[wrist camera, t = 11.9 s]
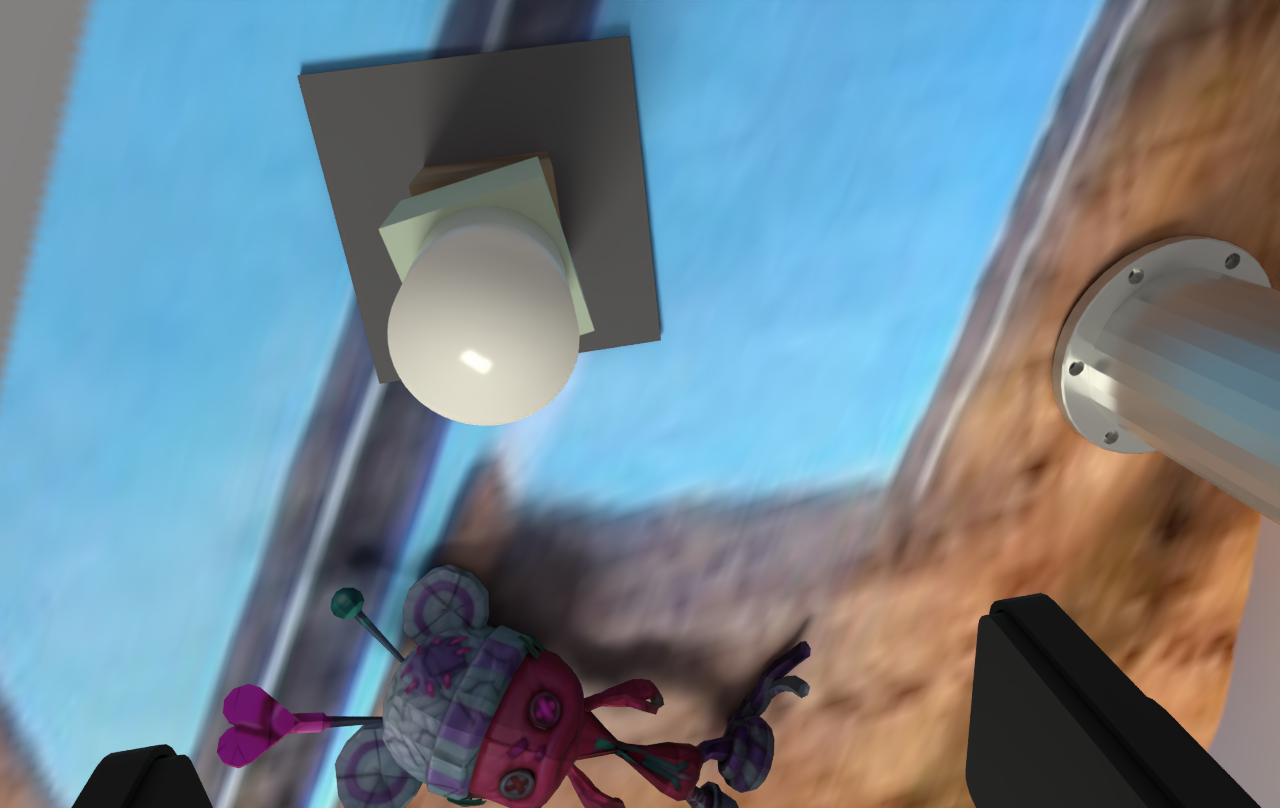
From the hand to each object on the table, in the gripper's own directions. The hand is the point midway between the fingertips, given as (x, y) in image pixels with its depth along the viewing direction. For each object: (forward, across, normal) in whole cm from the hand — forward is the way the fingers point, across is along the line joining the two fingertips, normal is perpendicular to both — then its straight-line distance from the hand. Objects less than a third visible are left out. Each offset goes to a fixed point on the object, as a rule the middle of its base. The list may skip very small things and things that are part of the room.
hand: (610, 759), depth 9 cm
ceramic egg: (+19, +2, -1) cm, 19 cm away
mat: (+31, +2, -1) cm, 31 cm away
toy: (+31, +5, +25) cm, 40 cm away
